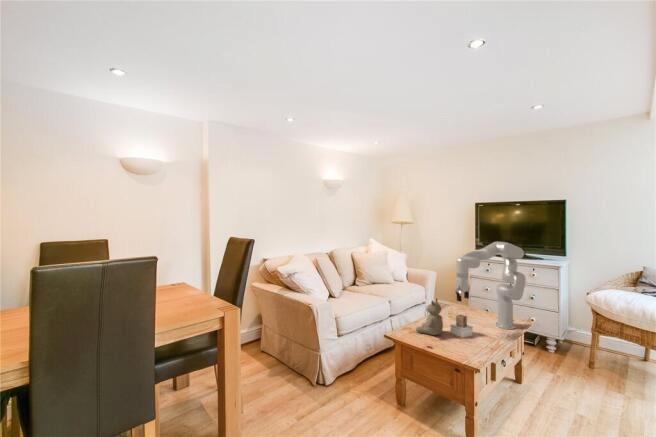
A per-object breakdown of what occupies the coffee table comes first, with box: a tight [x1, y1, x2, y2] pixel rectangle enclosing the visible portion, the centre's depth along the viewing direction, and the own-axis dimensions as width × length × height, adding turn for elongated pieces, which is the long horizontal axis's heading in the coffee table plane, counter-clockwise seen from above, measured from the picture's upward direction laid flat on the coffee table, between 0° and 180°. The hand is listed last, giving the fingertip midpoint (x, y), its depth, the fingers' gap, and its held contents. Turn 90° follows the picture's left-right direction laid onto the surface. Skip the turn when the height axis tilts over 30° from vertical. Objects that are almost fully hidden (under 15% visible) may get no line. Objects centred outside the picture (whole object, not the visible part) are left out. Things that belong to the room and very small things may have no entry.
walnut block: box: [455, 313, 468, 328], centre depth 211 cm, size 5×5×7 cm
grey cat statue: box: [415, 297, 444, 336], centre depth 214 cm, size 21×16×25 cm
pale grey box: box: [449, 322, 474, 339], centre depth 211 cm, size 11×11×6 cm
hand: (462, 299), depth 211 cm, fingers open, 9 cm apart
